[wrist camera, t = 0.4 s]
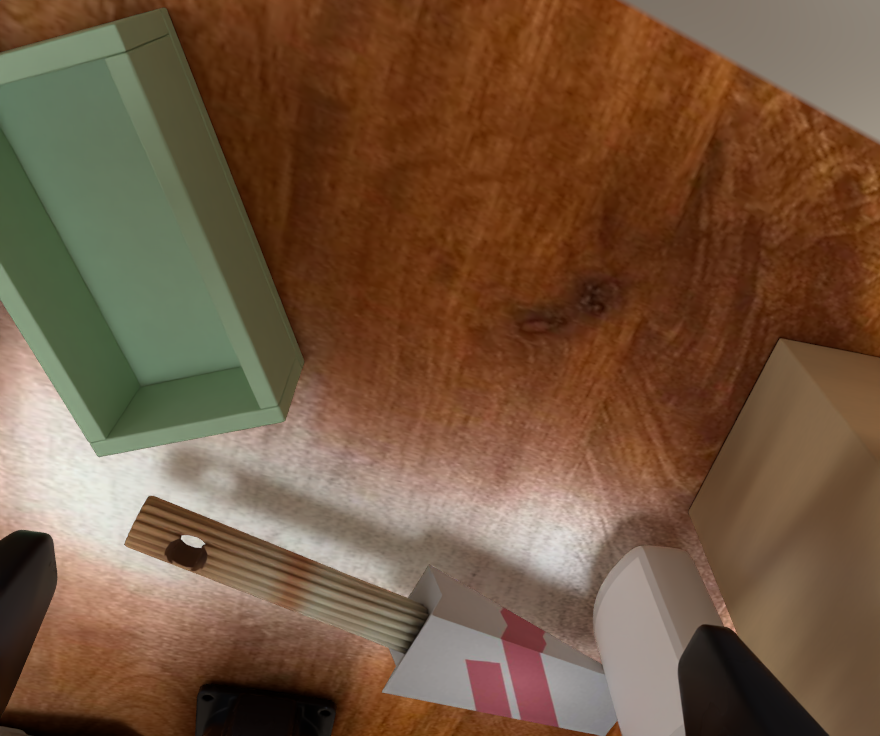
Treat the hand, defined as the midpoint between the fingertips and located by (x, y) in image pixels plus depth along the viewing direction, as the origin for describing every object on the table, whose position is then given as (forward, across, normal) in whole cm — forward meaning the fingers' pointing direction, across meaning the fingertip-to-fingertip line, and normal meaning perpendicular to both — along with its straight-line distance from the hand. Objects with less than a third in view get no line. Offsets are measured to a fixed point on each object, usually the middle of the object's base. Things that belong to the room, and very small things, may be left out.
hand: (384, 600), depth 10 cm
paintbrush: (+12, -2, +14) cm, 19 cm away
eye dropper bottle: (+13, -11, +13) cm, 21 cm away
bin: (+14, +8, +2) cm, 17 cm away
